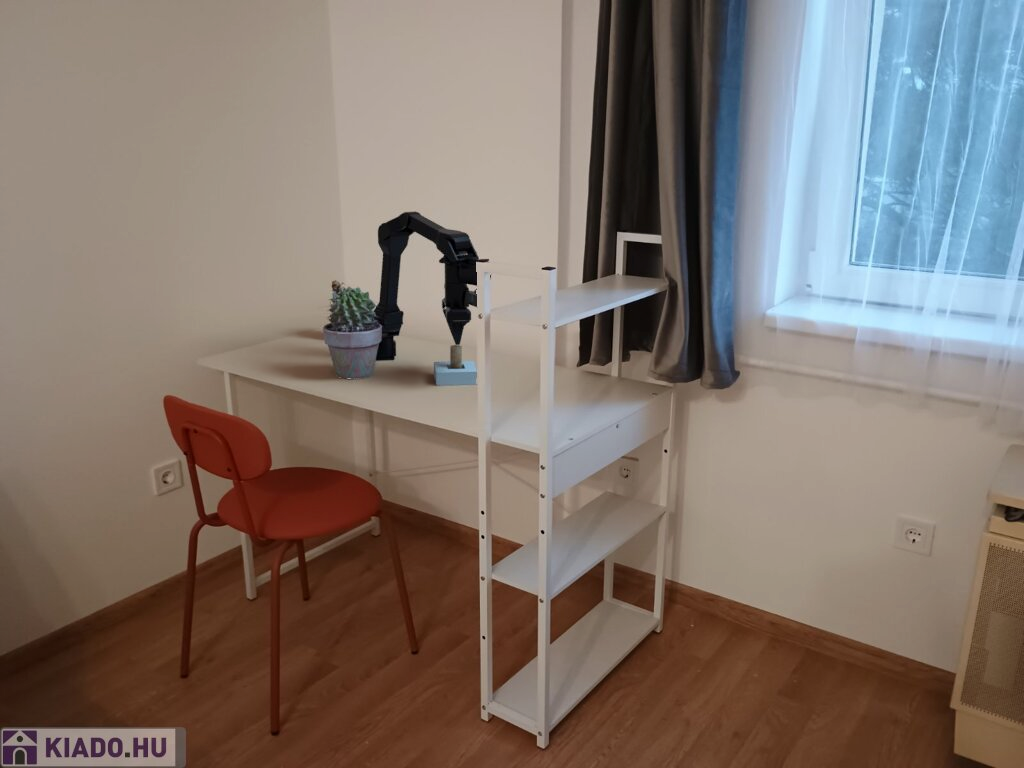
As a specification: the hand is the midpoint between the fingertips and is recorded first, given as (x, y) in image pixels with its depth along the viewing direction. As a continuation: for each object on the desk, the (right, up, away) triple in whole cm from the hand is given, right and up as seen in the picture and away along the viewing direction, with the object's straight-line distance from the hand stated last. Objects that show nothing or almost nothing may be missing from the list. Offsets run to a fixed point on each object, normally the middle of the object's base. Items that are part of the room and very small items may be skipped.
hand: (456, 340), depth 234 cm
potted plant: (-27, -9, +6) cm, 29 cm away
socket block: (0, -10, +3) cm, 11 cm away
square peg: (0, -10, +3) cm, 11 cm away
